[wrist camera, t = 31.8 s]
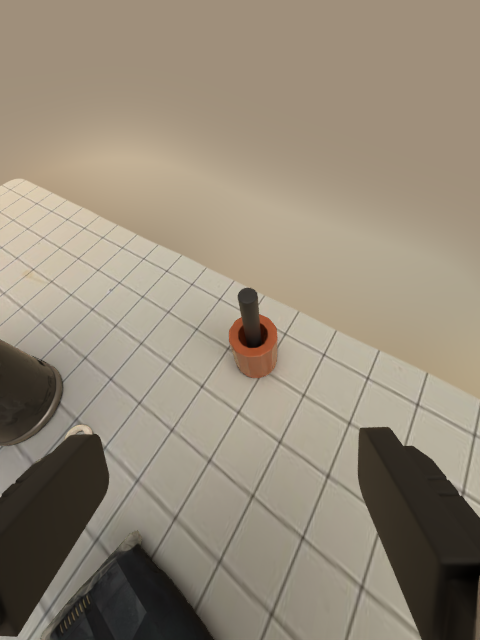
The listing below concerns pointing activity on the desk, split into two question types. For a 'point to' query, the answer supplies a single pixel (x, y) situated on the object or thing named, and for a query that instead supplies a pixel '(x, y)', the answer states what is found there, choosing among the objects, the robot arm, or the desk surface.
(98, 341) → the desk surface
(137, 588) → the electronic device
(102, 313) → the desk surface
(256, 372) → the pen holder
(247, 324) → the dark grey rod
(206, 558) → the desk surface
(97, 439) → the robot arm
